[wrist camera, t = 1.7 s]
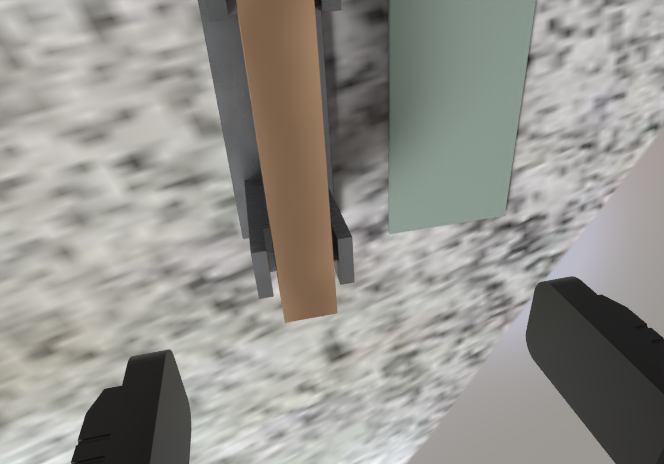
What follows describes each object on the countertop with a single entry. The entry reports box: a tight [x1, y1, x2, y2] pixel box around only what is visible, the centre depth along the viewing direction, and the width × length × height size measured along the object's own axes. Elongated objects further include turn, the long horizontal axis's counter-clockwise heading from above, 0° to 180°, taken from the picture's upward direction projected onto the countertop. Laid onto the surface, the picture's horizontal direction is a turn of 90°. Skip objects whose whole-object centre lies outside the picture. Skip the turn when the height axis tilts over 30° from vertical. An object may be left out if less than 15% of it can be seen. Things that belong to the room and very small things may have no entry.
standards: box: [198, 0, 354, 299], centre depth 26 cm, size 7×20×10 cm, turn 4°
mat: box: [388, 0, 536, 234], centre depth 32 cm, size 10×24×1 cm, turn 4°
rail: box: [236, 0, 337, 323], centre depth 22 cm, size 3×20×3 cm, turn 4°
